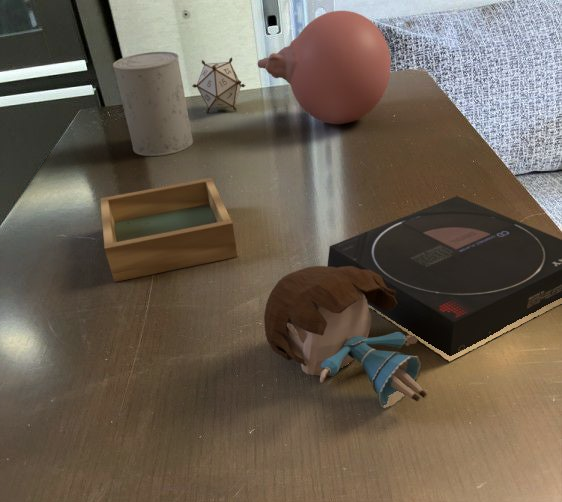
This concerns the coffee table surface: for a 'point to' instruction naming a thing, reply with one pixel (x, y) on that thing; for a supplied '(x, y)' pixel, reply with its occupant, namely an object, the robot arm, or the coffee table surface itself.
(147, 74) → the speckled white tin can
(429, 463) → the coffee table surface
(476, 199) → the coffee table surface
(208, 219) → the wooden box
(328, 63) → the balloon
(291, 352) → the figurine
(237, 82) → the game die
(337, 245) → the portable cd player
